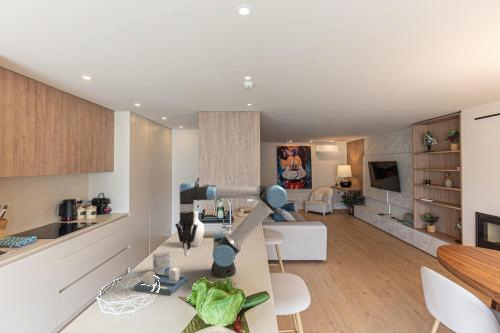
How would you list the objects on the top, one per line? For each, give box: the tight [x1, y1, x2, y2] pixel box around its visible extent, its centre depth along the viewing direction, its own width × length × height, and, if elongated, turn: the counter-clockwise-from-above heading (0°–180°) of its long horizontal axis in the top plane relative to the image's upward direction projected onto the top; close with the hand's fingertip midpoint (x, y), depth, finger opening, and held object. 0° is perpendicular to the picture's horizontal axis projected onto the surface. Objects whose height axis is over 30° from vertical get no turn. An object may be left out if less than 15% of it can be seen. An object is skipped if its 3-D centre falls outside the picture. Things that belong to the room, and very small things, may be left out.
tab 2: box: [168, 266, 180, 281], centre depth 135 cm, size 4×4×7 cm
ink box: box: [152, 250, 171, 274], centre depth 150 cm, size 9×5×12 cm, turn 141°
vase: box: [191, 210, 205, 247], centre depth 202 cm, size 14×14×28 cm
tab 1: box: [142, 270, 155, 285], centre depth 130 cm, size 4×4×7 cm
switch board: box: [133, 272, 189, 296], centre depth 133 cm, size 22×16×3 cm
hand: (186, 254), depth 133 cm, fingers closed
